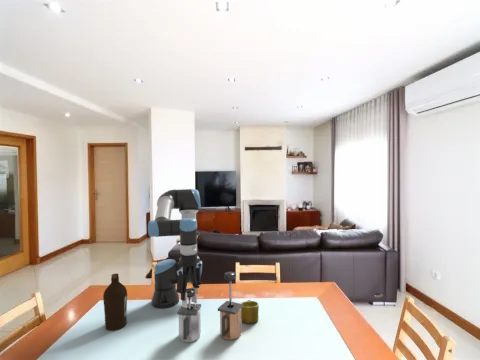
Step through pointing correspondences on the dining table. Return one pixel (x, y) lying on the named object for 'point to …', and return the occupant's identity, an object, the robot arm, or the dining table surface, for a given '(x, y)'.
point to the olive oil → (115, 304)
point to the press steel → (189, 323)
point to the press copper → (230, 320)
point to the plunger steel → (190, 294)
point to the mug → (249, 311)
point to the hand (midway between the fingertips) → (189, 304)
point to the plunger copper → (230, 285)
